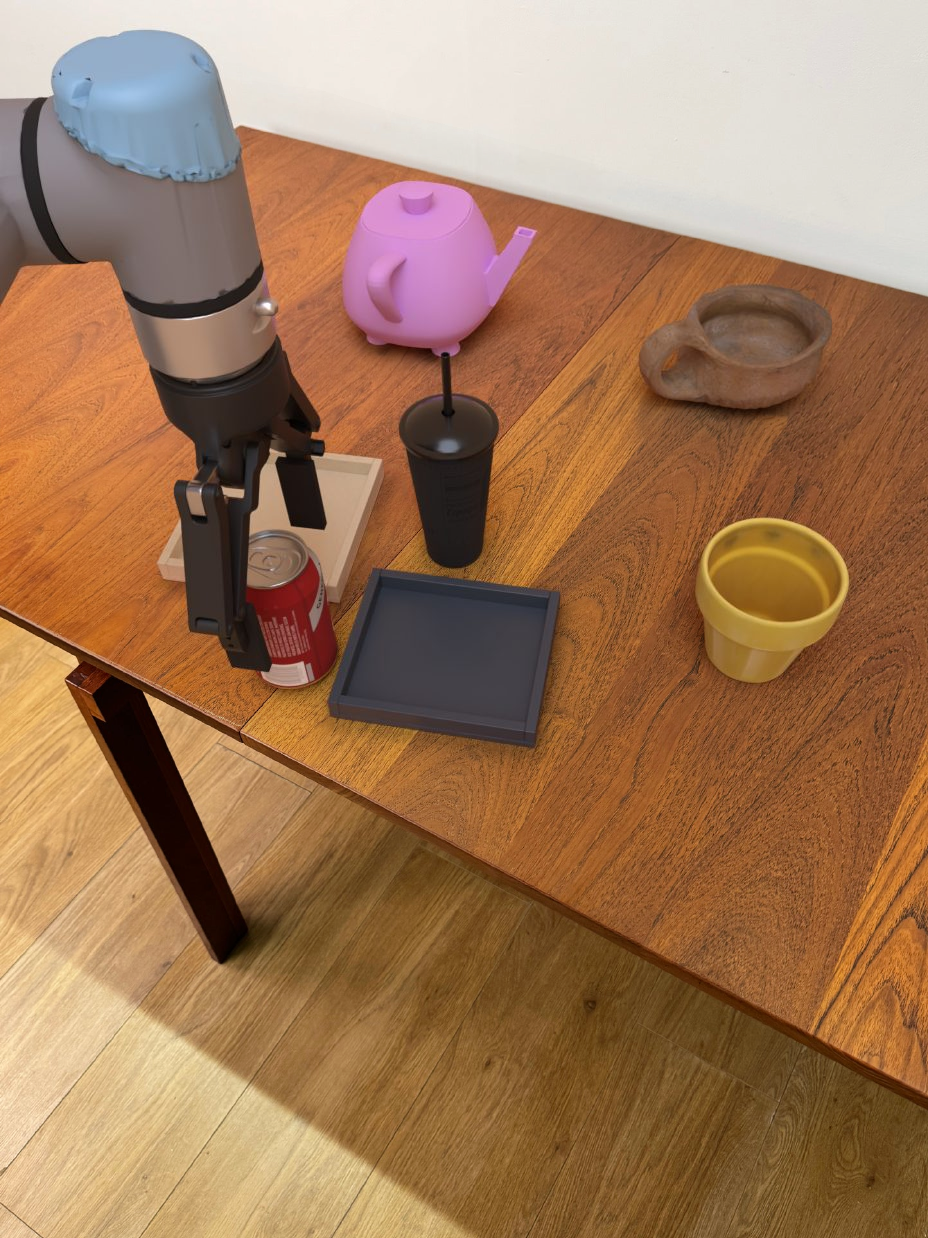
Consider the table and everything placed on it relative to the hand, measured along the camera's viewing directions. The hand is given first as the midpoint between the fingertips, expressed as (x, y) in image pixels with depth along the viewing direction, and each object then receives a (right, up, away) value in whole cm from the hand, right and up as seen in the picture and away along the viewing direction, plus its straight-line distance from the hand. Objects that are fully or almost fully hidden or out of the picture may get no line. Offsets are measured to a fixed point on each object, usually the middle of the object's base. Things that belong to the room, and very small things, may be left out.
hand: (282, 591), depth 73 cm
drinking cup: (+12, +4, +14) cm, 19 cm away
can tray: (+12, -5, +6) cm, 14 cm away
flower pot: (+36, -5, +6) cm, 36 cm away
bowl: (+39, +20, +26) cm, 51 cm away
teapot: (+10, +28, +33) cm, 45 cm away
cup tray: (-3, +6, +16) cm, 17 cm away
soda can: (0, -5, +7) cm, 9 cm away
